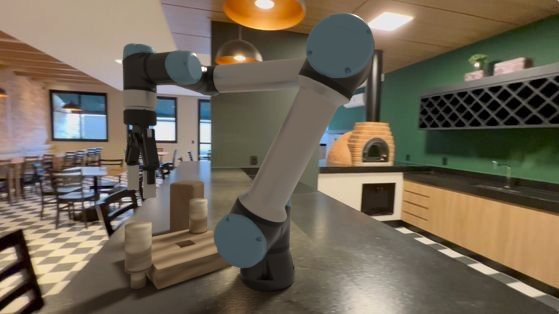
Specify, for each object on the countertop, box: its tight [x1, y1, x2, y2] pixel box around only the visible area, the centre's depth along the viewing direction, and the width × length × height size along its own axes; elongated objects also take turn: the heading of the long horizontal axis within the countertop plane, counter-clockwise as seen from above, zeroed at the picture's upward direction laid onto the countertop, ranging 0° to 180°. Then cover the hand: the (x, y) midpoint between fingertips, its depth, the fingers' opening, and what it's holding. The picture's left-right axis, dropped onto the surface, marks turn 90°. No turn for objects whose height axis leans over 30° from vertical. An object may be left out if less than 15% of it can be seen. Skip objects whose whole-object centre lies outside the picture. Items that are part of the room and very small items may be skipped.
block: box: [169, 179, 205, 233], centre depth 108 cm, size 10×10×20 cm
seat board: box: [146, 198, 231, 290], centre depth 83 cm, size 24×24×16 cm
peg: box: [124, 220, 153, 290], centre depth 68 cm, size 6×6×16 cm
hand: (140, 193), depth 69 cm, fingers open, 13 cm apart
